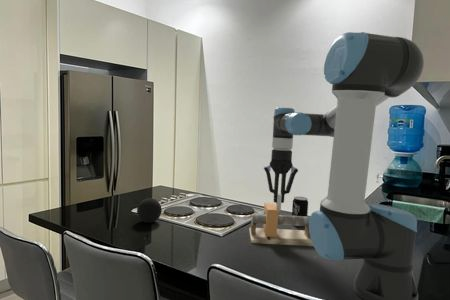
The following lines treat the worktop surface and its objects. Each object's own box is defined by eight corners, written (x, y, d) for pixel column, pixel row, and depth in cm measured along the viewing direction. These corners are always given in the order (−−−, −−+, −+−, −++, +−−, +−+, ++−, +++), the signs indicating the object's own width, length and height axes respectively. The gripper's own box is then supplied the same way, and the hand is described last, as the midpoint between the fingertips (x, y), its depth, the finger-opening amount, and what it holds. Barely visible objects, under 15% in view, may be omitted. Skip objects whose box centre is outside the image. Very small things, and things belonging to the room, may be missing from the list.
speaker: (166, 221, 140) (166, 198, 139) (151, 227, 131) (152, 202, 130) (147, 217, 144) (147, 194, 144) (131, 223, 135) (132, 199, 134)
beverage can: (306, 228, 140) (308, 200, 139) (291, 226, 142) (293, 199, 141) (306, 223, 147) (308, 197, 146) (291, 222, 148) (293, 195, 147)
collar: (273, 228, 131) (274, 203, 130) (276, 237, 121) (278, 210, 120) (263, 227, 131) (264, 203, 130) (265, 236, 121) (267, 209, 120)
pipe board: (305, 233, 133) (307, 211, 133) (315, 246, 119) (316, 222, 119) (249, 230, 133) (250, 208, 133) (251, 242, 120) (252, 218, 119)
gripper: (297, 149, 127) (293, 209, 129) (263, 147, 127) (260, 207, 129) (301, 151, 120) (297, 214, 122) (265, 149, 120) (262, 212, 122)
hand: (278, 210), depth 126 cm, fingers closed
